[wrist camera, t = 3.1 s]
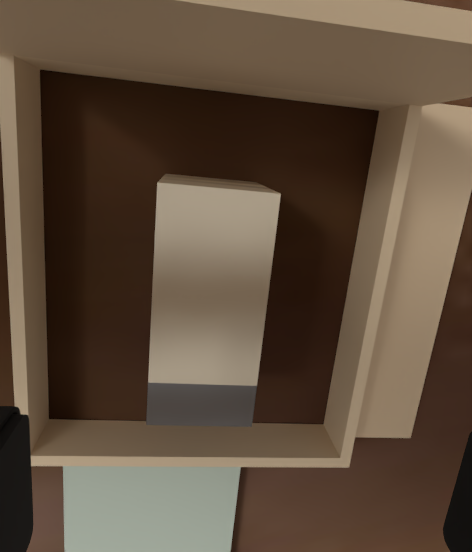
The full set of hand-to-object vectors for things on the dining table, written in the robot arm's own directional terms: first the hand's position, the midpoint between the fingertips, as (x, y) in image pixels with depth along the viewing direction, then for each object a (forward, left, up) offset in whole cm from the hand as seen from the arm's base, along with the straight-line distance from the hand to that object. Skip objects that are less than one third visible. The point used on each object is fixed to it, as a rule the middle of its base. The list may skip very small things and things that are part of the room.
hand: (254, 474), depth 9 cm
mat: (+18, -3, -14) cm, 23 cm away
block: (0, -1, -14) cm, 14 cm away
